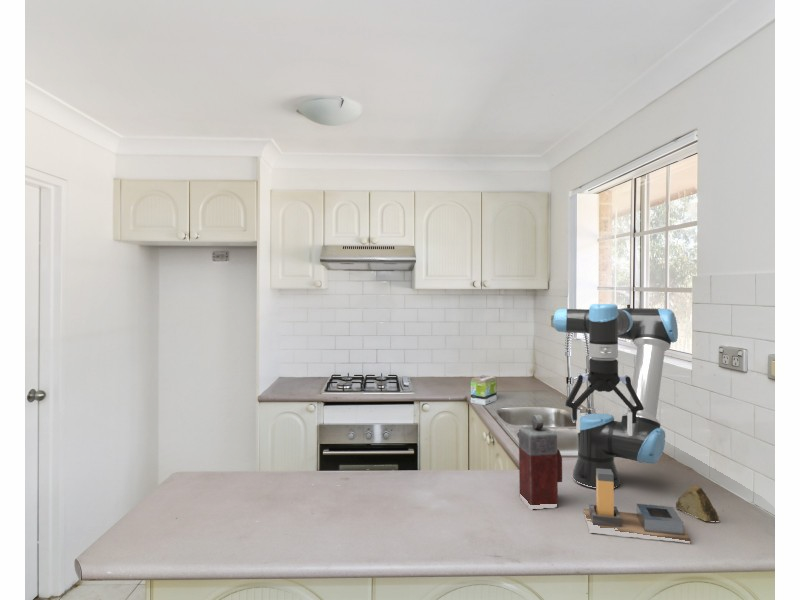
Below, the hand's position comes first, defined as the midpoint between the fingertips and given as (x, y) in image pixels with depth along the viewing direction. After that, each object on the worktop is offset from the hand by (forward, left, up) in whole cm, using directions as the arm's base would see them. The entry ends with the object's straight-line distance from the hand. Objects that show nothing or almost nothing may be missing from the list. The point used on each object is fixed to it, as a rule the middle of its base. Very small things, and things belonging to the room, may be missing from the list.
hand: (603, 433), depth 135 cm
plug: (-1, 0, -25) cm, 25 cm away
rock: (-13, +27, -27) cm, 40 cm away
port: (-1, +14, -25) cm, 29 cm away
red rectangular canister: (-12, -17, -27) cm, 34 cm away
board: (-1, +8, -27) cm, 28 cm away
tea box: (-141, -45, -27) cm, 151 cm away
